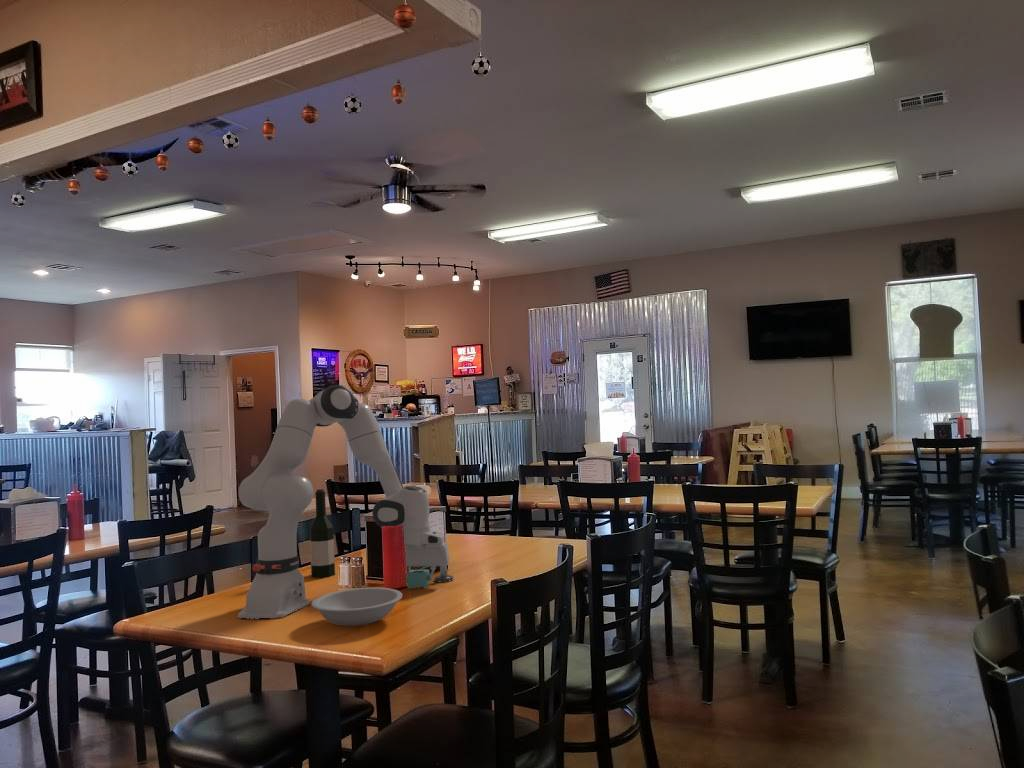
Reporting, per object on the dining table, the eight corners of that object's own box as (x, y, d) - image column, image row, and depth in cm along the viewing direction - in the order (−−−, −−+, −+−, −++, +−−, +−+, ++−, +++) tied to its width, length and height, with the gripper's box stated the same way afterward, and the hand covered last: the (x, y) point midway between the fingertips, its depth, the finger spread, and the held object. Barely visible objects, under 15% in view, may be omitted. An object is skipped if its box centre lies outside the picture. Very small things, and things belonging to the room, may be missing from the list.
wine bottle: (331, 577, 259) (328, 490, 260) (307, 578, 259) (304, 491, 260) (338, 572, 268) (334, 487, 268) (314, 573, 268) (311, 488, 269)
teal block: (426, 587, 238) (425, 573, 238) (407, 588, 239) (406, 574, 239) (429, 583, 244) (429, 569, 244) (411, 583, 245) (410, 569, 245)
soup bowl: (364, 606, 219) (363, 583, 219) (421, 618, 204) (420, 593, 204) (293, 627, 201) (292, 602, 201) (351, 642, 185) (350, 615, 186)
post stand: (451, 582, 245) (450, 562, 245) (433, 582, 245) (432, 562, 245) (454, 577, 250) (453, 558, 251) (436, 578, 251) (435, 558, 251)
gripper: (382, 539, 240) (384, 583, 239) (445, 537, 238) (447, 581, 238) (387, 536, 246) (389, 578, 246) (449, 534, 244) (450, 577, 244)
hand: (418, 580), depth 242 cm, fingers open, 6 cm apart
